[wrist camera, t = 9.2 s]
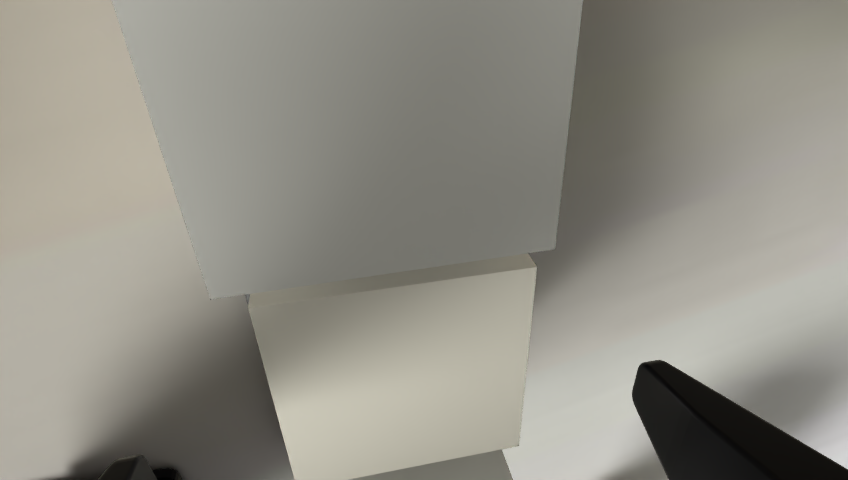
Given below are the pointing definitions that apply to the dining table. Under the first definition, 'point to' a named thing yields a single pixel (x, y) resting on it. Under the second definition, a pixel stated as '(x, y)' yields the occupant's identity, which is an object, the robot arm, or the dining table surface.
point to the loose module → (398, 365)
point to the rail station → (359, 138)
